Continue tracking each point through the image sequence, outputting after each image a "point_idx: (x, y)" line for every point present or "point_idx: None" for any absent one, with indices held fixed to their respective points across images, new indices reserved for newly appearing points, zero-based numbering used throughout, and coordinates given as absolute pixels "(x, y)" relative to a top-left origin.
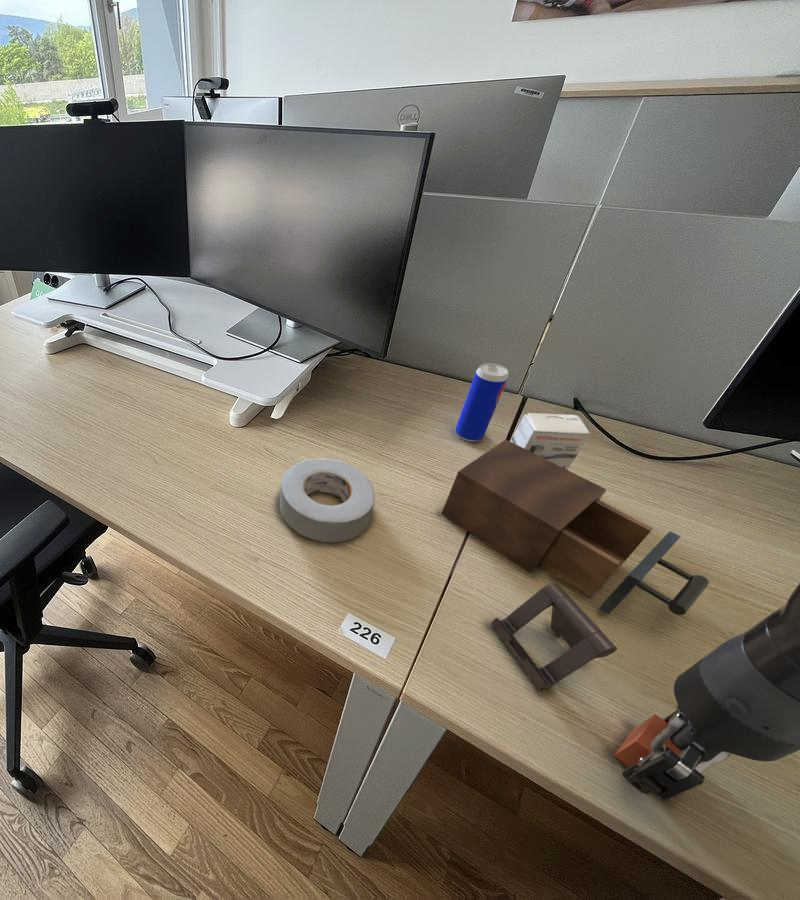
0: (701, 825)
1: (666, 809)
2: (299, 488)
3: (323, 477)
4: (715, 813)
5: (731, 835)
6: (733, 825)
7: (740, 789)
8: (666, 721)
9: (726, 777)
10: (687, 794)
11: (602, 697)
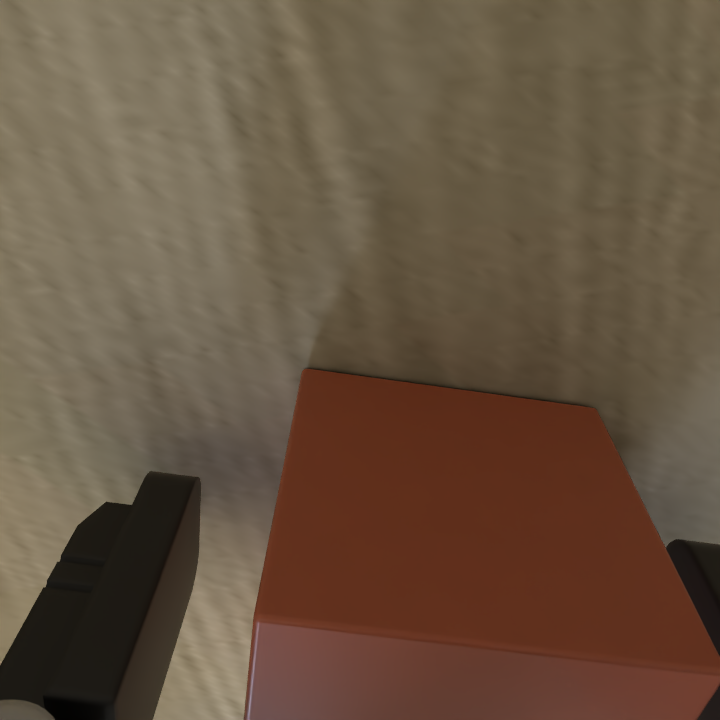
0: (647, 212)
1: (671, 379)
2: None
3: None
4: (485, 156)
5: (590, 39)
6: (492, 40)
7: (129, 46)
8: (161, 687)
9: (119, 143)
10: (473, 311)
11: (214, 686)
